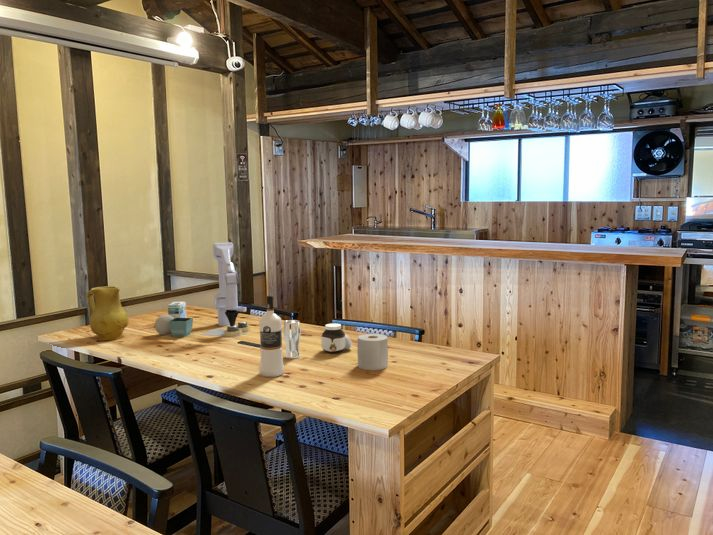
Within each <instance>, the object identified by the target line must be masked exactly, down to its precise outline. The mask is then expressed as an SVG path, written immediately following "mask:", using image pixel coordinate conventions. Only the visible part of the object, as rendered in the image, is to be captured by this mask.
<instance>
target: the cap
mask: <svg viewBox="0 0 713 535" xmlns="http://www.w3.org/2000/svg"><path fill="white" fill-rule="evenodd" d="M226 329H227V332H235V331H238V325H237V324H235V325H234V326H230V325H228V326H226Z"/></svg>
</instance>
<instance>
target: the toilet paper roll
mask: <svg viewBox="0 0 713 535" xmlns="http://www.w3.org/2000/svg"><path fill="white" fill-rule="evenodd" d="M388 339H389V338H388V336H387V335H385V334H380V333H365V334H360V335H359V336H357V367H358V368H359V369H361V370H363V371H364V370H365V371H380V370H384V369H387V368H388V367H389V364H388V363H389V345H388V344H389V342H388V341H389V340H388Z"/></svg>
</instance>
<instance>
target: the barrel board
mask: <svg viewBox="0 0 713 535" xmlns="http://www.w3.org/2000/svg"><path fill="white" fill-rule="evenodd" d="M237 326H238V331H235V332H227V328H213V329H211V330H208V331H206V332H203V333H201V334H200V336H210V337H212V336H213V337H223V338H224V337H227V338H239V337H242V336H244V335H245V334H247V333H250V332H251V329H250V328H251V326H250V325H248V322H247V321H238V322H237Z"/></svg>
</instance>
